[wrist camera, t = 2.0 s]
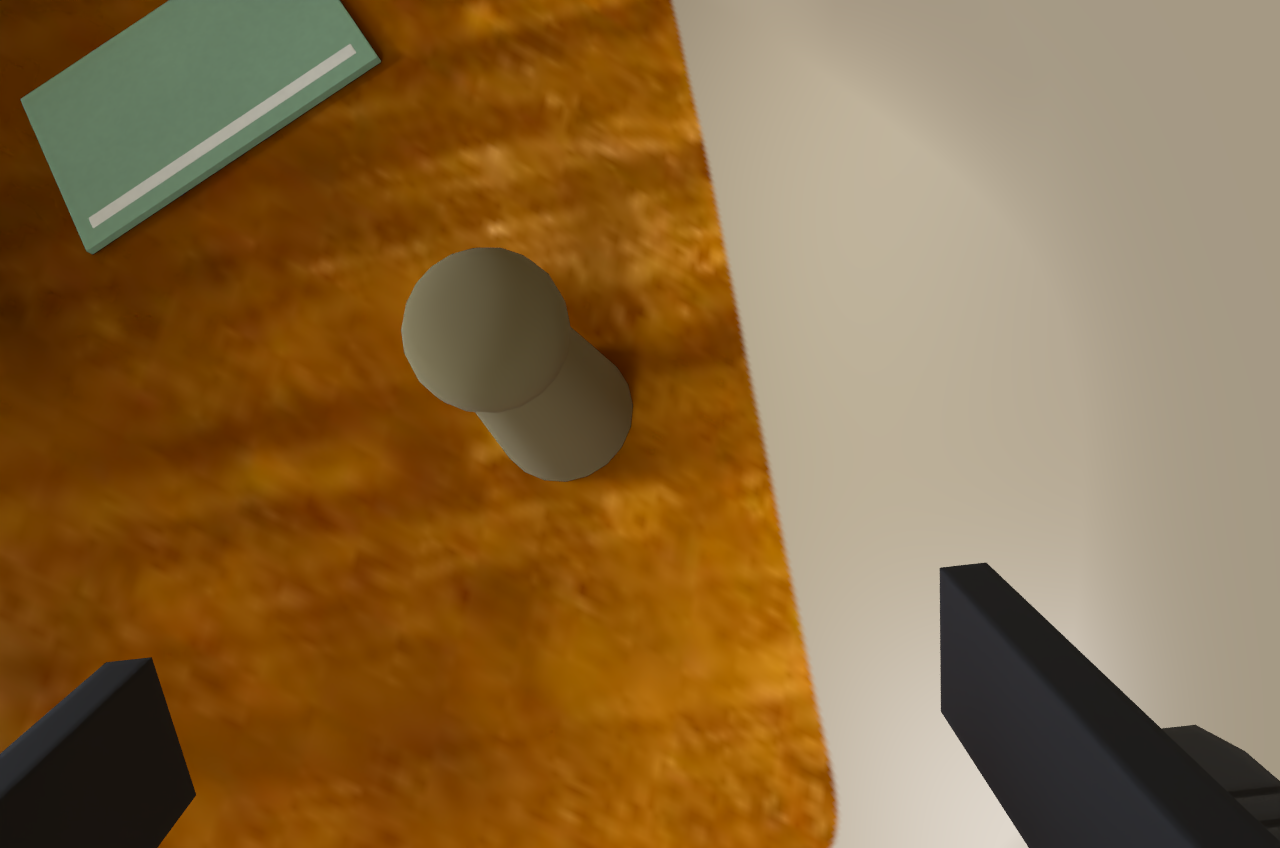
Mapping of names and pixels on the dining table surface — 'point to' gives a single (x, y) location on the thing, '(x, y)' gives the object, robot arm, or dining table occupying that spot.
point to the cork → (516, 362)
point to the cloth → (185, 101)
